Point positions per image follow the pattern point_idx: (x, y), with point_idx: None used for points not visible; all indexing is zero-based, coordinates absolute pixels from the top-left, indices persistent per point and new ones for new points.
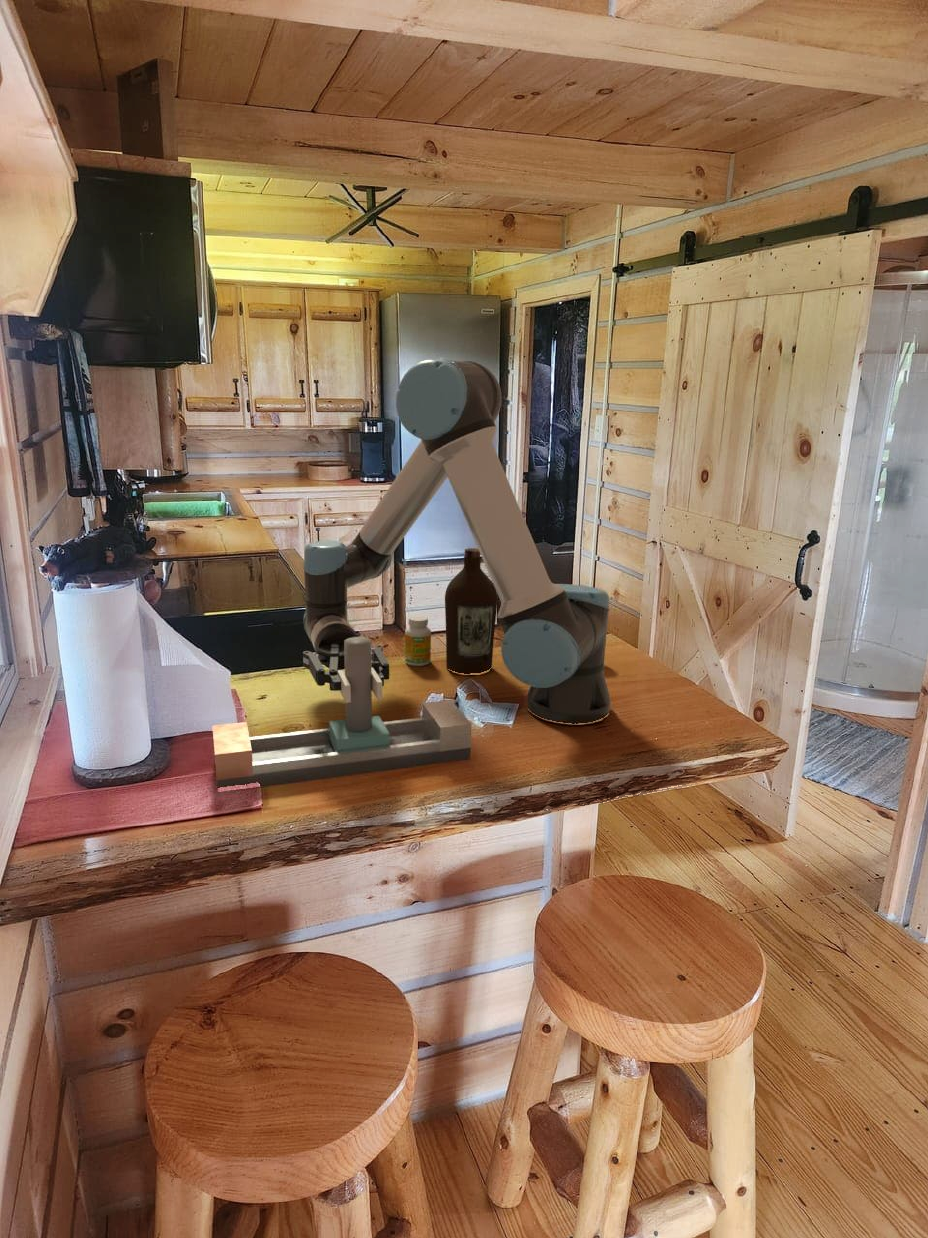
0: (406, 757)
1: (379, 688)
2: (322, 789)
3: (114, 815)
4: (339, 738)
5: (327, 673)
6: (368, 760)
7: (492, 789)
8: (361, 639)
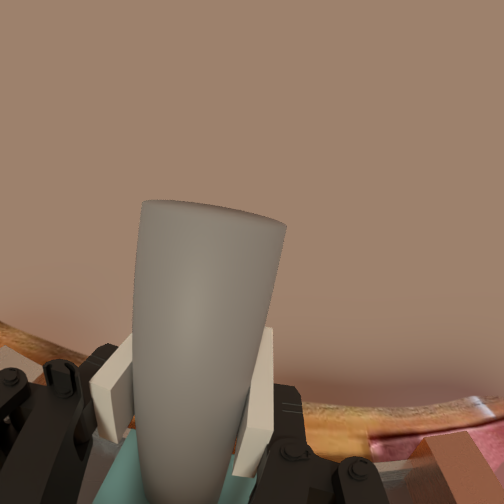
0: None
1: None
2: None
3: (499, 440)
4: None
5: (317, 465)
6: None
7: (71, 351)
8: (183, 209)
